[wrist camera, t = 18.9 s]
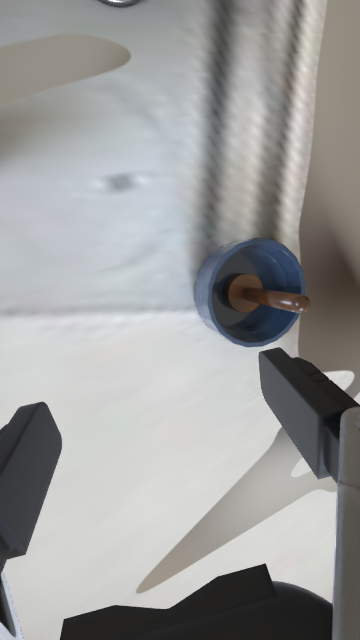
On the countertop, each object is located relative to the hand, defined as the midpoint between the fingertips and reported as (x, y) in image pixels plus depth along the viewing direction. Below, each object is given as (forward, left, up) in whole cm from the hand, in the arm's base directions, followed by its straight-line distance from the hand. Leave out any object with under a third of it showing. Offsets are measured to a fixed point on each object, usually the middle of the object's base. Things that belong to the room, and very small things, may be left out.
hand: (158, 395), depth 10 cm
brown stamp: (+3, +16, -25) cm, 30 cm away
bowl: (+3, +16, -26) cm, 30 cm away
